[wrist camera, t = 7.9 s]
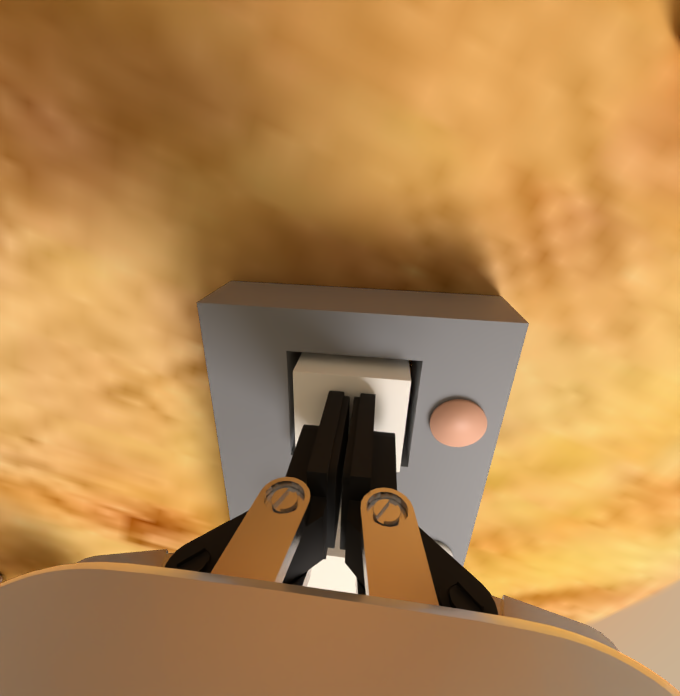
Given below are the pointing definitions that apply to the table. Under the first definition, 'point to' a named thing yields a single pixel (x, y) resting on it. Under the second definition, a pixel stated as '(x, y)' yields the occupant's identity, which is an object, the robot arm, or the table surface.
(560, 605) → the table surface
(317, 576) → the middle button
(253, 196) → the table surface
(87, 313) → the table surface
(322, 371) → the inner button
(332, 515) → the robot arm
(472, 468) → the button board
